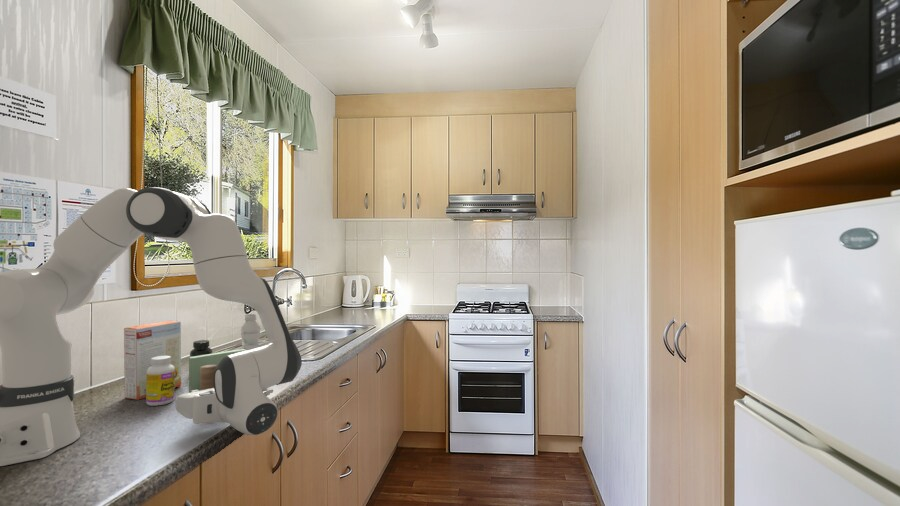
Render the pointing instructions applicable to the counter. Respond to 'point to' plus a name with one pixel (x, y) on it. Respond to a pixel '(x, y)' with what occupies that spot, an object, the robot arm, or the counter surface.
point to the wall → (202, 361)
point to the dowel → (207, 376)
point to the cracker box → (149, 354)
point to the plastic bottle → (250, 332)
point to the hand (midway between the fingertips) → (213, 388)
